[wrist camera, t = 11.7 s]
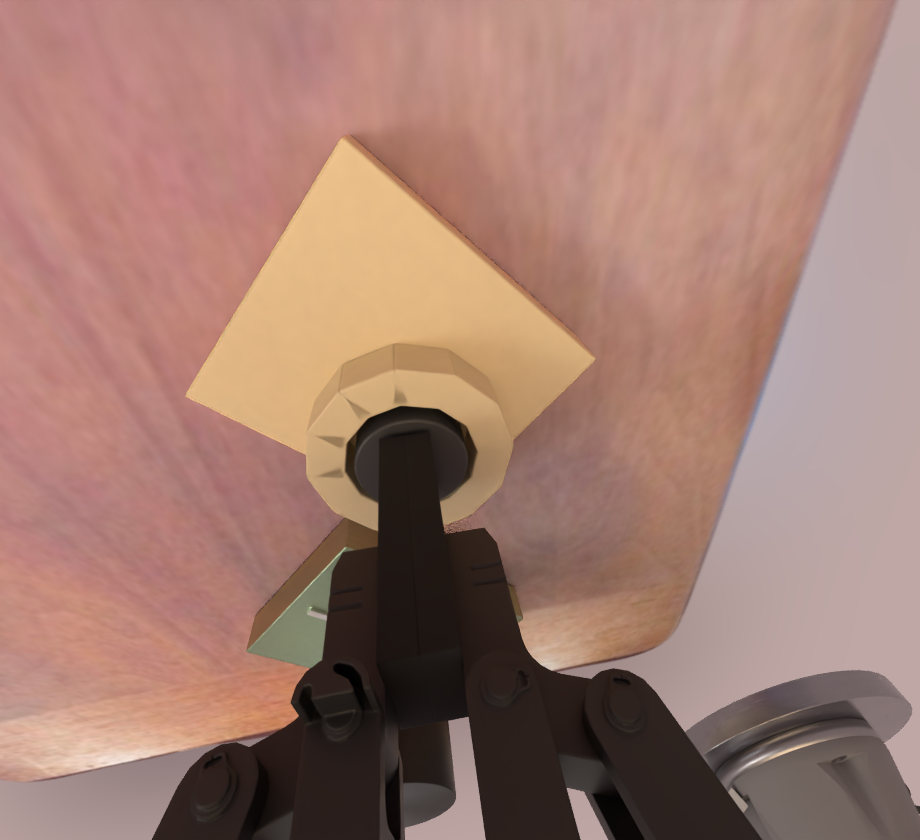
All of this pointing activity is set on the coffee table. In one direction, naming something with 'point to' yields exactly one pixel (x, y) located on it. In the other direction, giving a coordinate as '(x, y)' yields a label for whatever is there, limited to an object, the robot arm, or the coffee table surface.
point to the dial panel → (312, 601)
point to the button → (406, 422)
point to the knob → (426, 772)
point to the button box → (384, 337)
